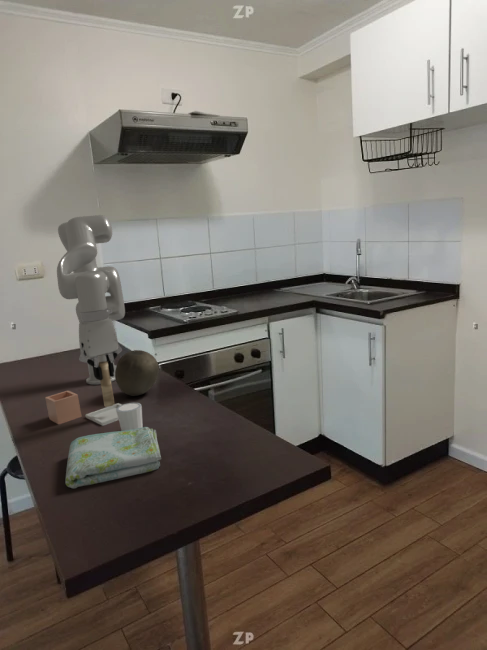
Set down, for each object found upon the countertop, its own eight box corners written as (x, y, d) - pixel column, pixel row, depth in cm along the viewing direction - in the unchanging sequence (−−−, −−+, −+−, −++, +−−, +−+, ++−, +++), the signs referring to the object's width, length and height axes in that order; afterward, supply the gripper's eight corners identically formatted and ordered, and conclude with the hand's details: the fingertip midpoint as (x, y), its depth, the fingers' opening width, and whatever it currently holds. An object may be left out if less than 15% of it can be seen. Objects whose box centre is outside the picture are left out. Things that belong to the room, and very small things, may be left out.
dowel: (111, 402, 145) (104, 360, 142) (116, 404, 142) (109, 362, 140) (102, 405, 143) (95, 363, 140) (107, 407, 140) (100, 364, 138)
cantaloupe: (130, 404, 153) (123, 359, 150) (112, 395, 164) (105, 353, 161) (169, 392, 161) (163, 349, 158) (148, 384, 172) (142, 344, 169)
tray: (119, 407, 151) (118, 403, 151) (137, 415, 143) (136, 410, 143) (86, 419, 144) (85, 414, 144) (103, 427, 136) (102, 422, 136)
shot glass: (149, 426, 134) (146, 402, 132) (136, 436, 127) (132, 412, 126) (128, 425, 136) (124, 401, 135) (114, 435, 130) (110, 411, 128)
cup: (72, 413, 150) (68, 390, 149) (82, 418, 145) (77, 394, 144) (49, 421, 146) (45, 397, 144) (58, 426, 140) (54, 401, 139)
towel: (165, 470, 108) (162, 449, 107) (66, 492, 103) (62, 470, 102) (156, 439, 125) (154, 420, 124) (71, 457, 120) (68, 438, 119)
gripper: (114, 310, 146) (123, 368, 149) (61, 321, 135) (73, 383, 138) (126, 311, 140) (135, 372, 144) (72, 322, 130) (84, 387, 133)
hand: (104, 377), depth 141 cm, fingers closed on dowel, 3 cm apart
